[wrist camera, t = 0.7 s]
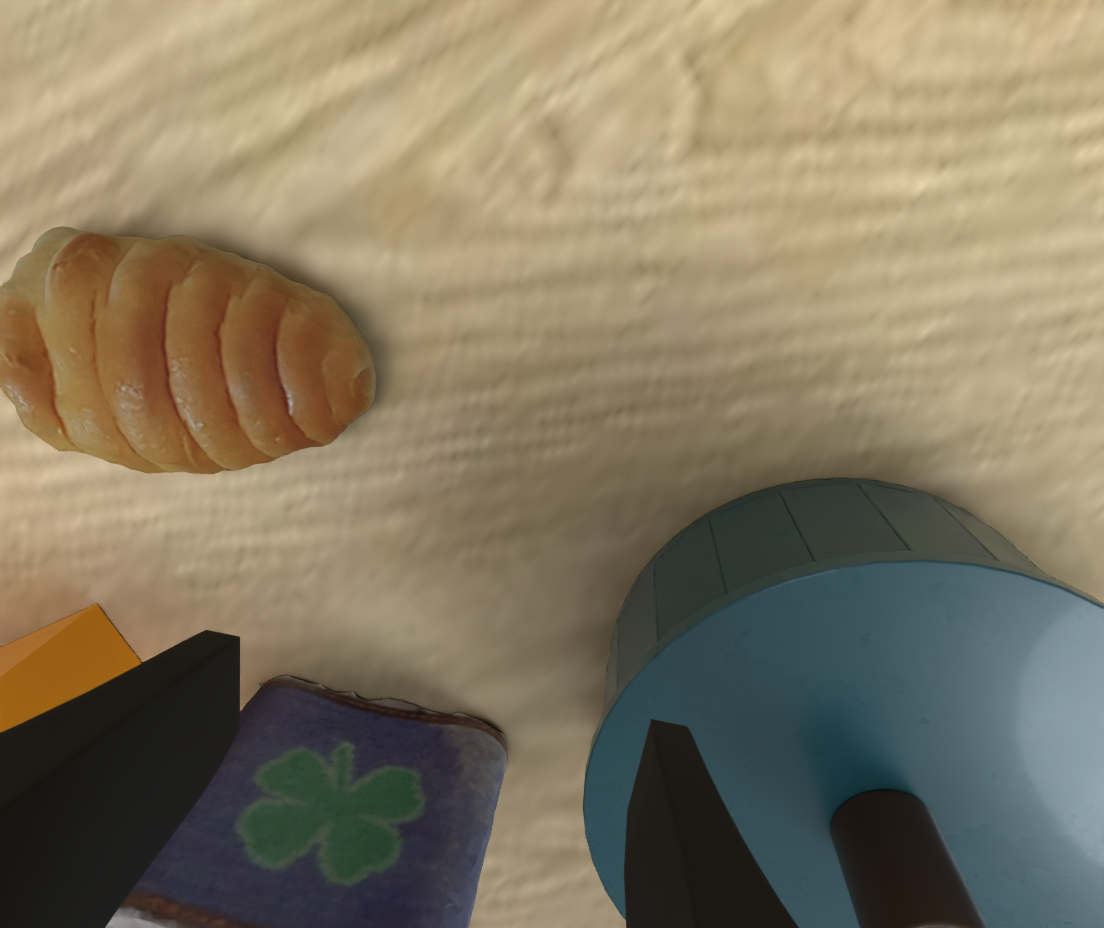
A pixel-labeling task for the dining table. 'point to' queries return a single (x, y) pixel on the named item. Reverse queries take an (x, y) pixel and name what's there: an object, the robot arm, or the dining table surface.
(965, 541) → the pan
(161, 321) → the pastry
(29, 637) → the orange juice
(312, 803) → the flask
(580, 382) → the dining table surface
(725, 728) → the lid
